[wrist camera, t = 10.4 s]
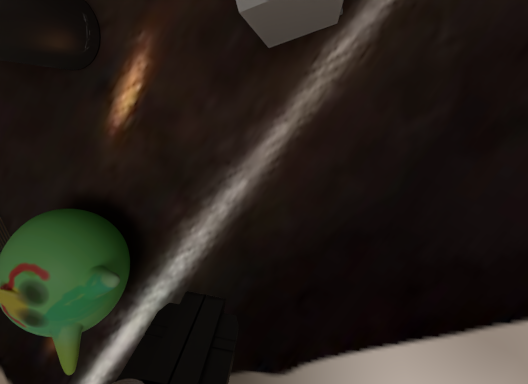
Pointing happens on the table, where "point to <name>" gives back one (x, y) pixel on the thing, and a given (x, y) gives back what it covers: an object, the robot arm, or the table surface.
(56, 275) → the toy bird
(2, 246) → the cage light
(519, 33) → the table surface
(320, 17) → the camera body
